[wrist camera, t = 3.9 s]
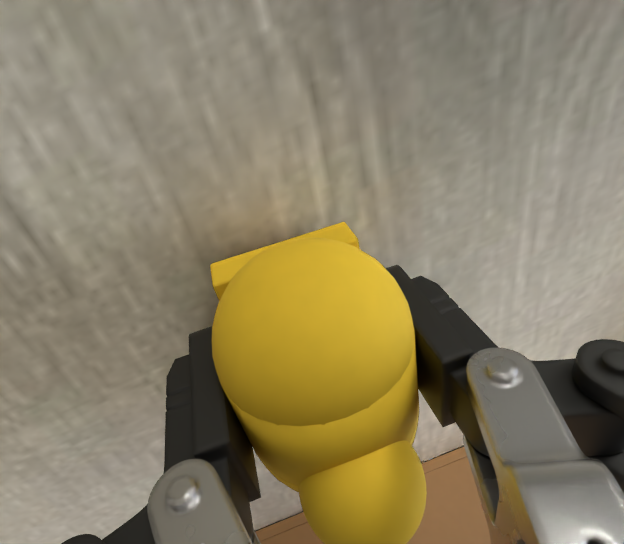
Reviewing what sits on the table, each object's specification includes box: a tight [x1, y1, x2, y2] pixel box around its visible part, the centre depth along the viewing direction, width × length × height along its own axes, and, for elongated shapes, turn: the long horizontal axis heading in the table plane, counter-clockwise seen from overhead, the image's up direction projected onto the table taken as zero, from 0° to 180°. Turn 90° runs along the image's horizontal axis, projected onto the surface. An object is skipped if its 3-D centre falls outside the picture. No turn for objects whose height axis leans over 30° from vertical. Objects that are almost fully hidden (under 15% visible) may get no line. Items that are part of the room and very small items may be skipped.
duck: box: [210, 222, 427, 544], centre depth 9 cm, size 7×4×6 cm, turn 11°
